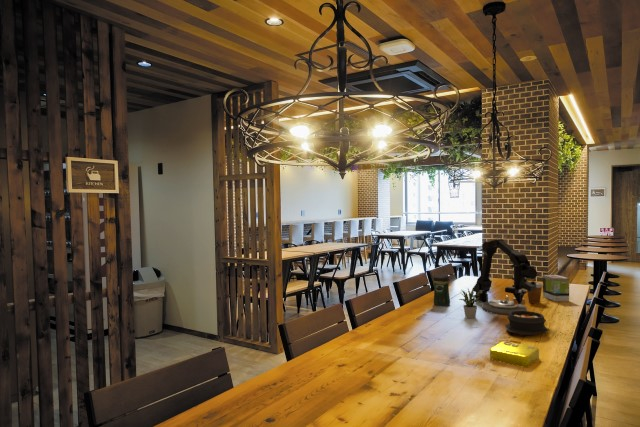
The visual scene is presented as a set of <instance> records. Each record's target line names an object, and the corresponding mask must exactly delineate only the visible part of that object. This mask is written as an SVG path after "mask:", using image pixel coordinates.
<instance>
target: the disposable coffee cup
mask: <svg viewBox="0 0 640 427" xmlns="http://www.w3.org/2000/svg"><path fill="white" fill-rule="evenodd" d="M529 282H530V283H531V282H532V281H529ZM535 282H536V288H534V291H527V290H526V291H527V293H526V294H527V299H528V303H529V304H530V303H531V304H540V303H541V296H542V291H543V282H542V283H541V282H539V281H538V282H537V281H535Z"/></svg>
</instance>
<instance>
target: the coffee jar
mask: <svg viewBox="0 0 640 427" xmlns="http://www.w3.org/2000/svg"><path fill="white" fill-rule="evenodd" d="M432 282H433V288H434V289H433V290H434V291H433V292H434V293H433V305H435V304H436V305H435V306H440V305H445V306H444V307H446V305H448V306H449V305H451V300H450V299H451V297H450V290H449V284H450V277H449V275H446V274H435V275H433V279H432Z"/></svg>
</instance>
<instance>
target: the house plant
mask: <svg viewBox="0 0 640 427" xmlns="http://www.w3.org/2000/svg"><path fill="white" fill-rule="evenodd" d="M467 291H468V292H465V291H464V290H463V289H461V291H459V294H461V295H462V296H463V297H464V298H459V299H458V300H459V301H463V302H464V304H463V311H464V316H465V318H466V317H467V319H470V318H473V319H476V316H477V310H478V307H477V305H476V304H477V301H480V300H478V298H477V299H476V296H477V295H478V294H479V293H483V292H482V291H480V292H478V293H477V294H476V293H475V292H474V290H473V288H472V289H471V291H470V289H469V288H467ZM474 293H475V294H474ZM479 295H480V294H479Z"/></svg>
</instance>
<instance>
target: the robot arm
mask: <svg viewBox="0 0 640 427" xmlns="http://www.w3.org/2000/svg"><path fill="white" fill-rule="evenodd" d="M497 249H499V250H500V251H502V252H503V253H504V254H505V255H507V257H509V261H510V262H511V263H512V264H511V266H510V267H511V268H513V277H512V278H511V280H513V284H511V286H506V287H505V288H504V292H505V293H509V294H512V295H513V296H514V298H516V300H517V302H518V304H520V305H522V304H521V302H522V299H523V298H524V296H525V294H528V293H527V291H534V288H536V282H537V281H535V280H534V279H535V278H537V275H538V272H537V270H536V268H535V267H534V266H533V265H532V264H531V262H530V261H529V260H528V257H527V255H526V254H525V253H523V252H521V251H517V250H515V249H514V248H513V247H512V246H511V245H510V244H508V243H507V242H505V240H504V239H502V238H498V239H497V238H495V239H494V240H489V241H484V242H483V243H482V253H483V260H482V266H481V270H480V271H481V272H480V276H479V277H478V278H477V280H476V282H475V284H474V286H473V287H472V289H473V290H474V291H473V292H474V293H475V295H476V294H477V293H478V292H480V291H482V292H483V293H479V294H480V295H479V294H478V295H477V296H476V298H475V299H477V298H478V300H480V301H479V302H480V303H487V302H488V301H489V294H488V293H489V292H490V290H491V287H492V283H493V281H492V280H491V279H490V273H491V268H492V262H493V258H494V257H493V256H494V255H495V254H496V253H497ZM528 279H531V280H532V281H528ZM533 280H534V281H533ZM530 282H531V283H530ZM486 301H487V302H486ZM479 302H478V303H479Z"/></svg>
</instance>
